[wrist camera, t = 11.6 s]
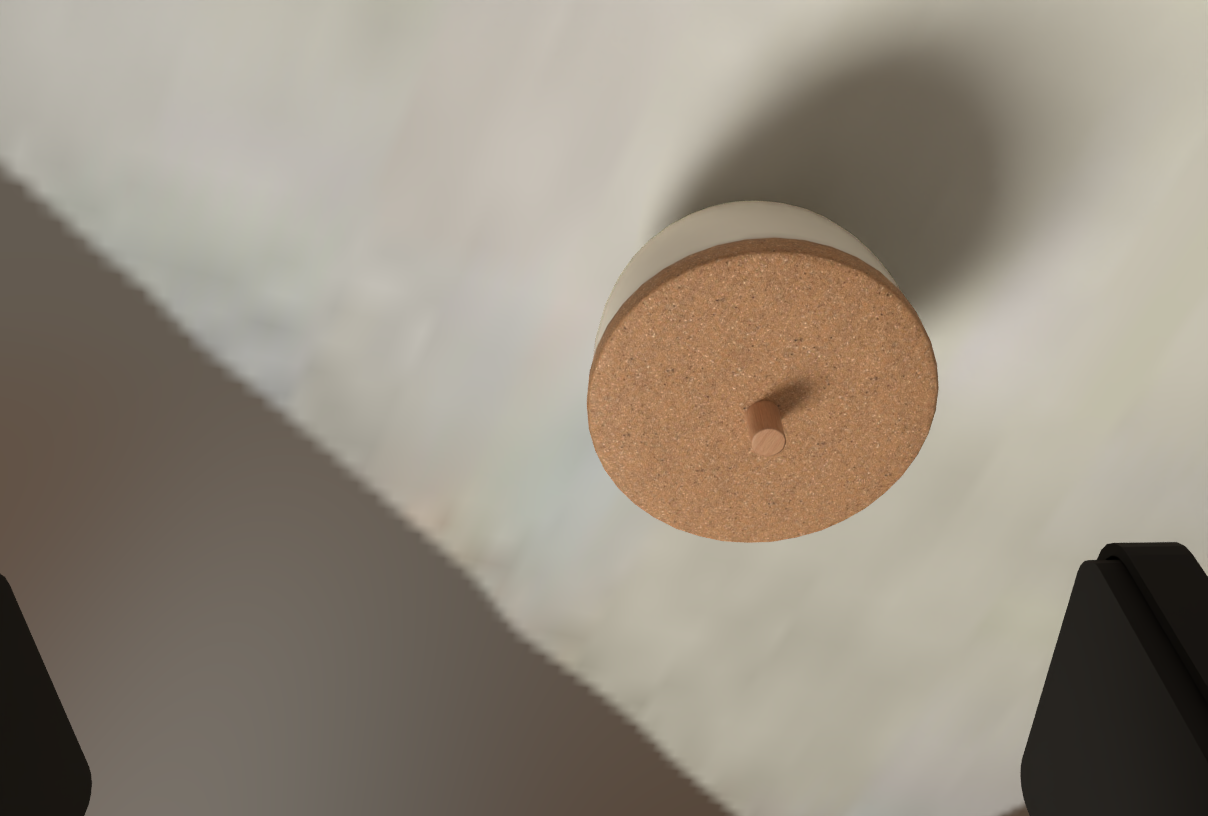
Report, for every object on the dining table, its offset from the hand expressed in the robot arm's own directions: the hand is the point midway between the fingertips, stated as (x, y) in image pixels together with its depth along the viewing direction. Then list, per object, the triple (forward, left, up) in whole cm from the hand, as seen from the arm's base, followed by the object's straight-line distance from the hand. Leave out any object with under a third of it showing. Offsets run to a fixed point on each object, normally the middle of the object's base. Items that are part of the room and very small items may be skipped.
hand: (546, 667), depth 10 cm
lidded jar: (-5, +11, -29) cm, 31 cm away
